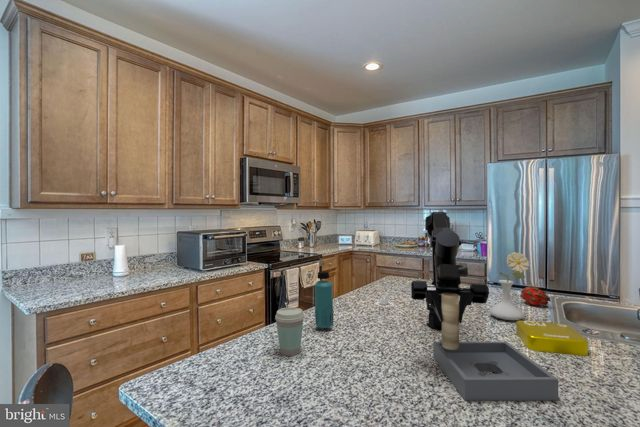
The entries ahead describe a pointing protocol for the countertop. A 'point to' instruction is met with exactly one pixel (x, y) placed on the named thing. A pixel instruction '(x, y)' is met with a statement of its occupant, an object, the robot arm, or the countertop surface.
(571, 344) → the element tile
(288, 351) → the coffee cup
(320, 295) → the beverage bottle
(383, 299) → the white ring with post
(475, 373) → the charcoal box
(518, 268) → the flower in vase
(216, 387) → the countertop surface
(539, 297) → the dragon fruit
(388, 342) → the countertop surface
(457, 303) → the birch peg
